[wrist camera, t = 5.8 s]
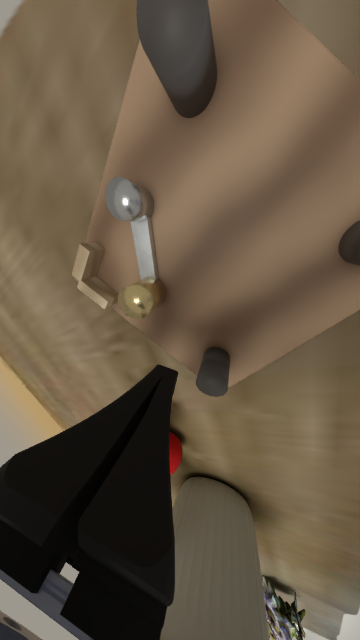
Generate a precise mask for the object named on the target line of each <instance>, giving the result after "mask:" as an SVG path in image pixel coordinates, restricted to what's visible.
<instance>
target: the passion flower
mask: <svg viewBox="0 0 360 640" xmlns="http://www.w3.org/2000/svg"><path fill="white" fill-rule="evenodd" d="M262 579H263V584H264V587H263V593H264V601H265V609H266V616H267V620H269V622H267V625H268V633H269V638H270V636H271V639H272V640H276V636H277V635H278V640H292V638H293V637H294V636H295V637H296V639H297V640H303V638H302V637H304V638H305V633H304V634H303V632H304V630H303V628H302V626H301V624H300V623H301V621H302V619H303V617H304V616H305V609H303V610H301V611H299V612H298V613H297V600H296V592H295V601H294V602H293V603H292V604H291V606H290V605H289V604H288V602H284V601H283V600H282V598H281V597H280V596H279V599H278V597H277V596H276V593H275V589H274V587H273V585H272V584H271V582H270V581H269V580H268V579H267V578H266V577H265V576H264V575H263V576H262ZM294 613H295V614H294ZM293 621H294V622H296V623H298V627H299V631H298V630H297V628H296V625H295V623H292V622H293ZM271 627H272V628H273V630H272V628H271ZM302 630H303V632H302ZM273 631H274V632H273ZM296 632H297V633H298V636H297V635H296ZM274 633H275V634H274ZM275 635H276V636H275Z"/></svg>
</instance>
